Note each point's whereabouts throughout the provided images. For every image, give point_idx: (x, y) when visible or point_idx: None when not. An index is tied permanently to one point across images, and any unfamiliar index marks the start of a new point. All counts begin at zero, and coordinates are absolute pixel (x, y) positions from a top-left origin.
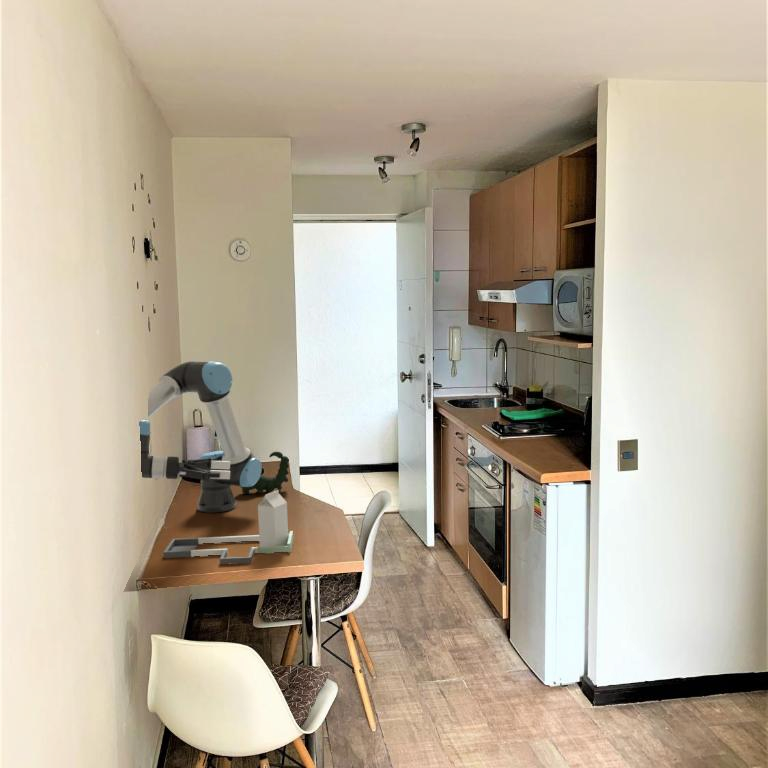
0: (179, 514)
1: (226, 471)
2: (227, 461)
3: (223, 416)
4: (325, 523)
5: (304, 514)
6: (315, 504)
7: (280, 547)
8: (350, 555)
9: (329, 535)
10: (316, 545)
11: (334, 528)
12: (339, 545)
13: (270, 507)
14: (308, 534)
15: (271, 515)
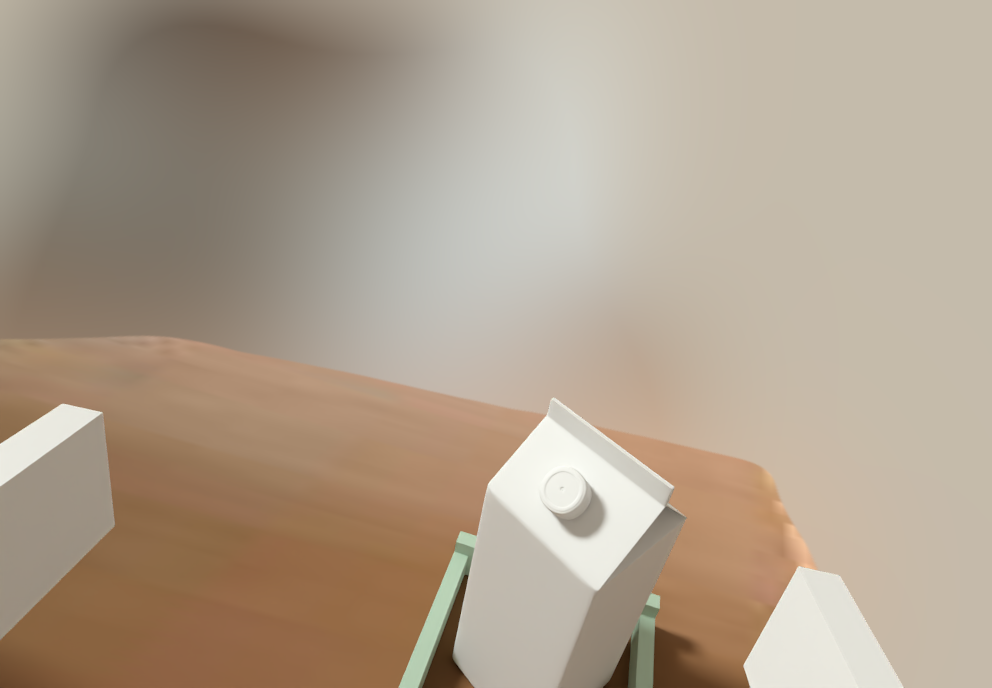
0: None
1: (868, 637)
2: (38, 436)
3: None
4: (319, 408)
5: (124, 422)
6: (28, 356)
7: (653, 651)
8: (713, 461)
9: (475, 442)
10: None
11: (401, 407)
12: None
13: (668, 532)
14: (422, 491)
15: (657, 566)
